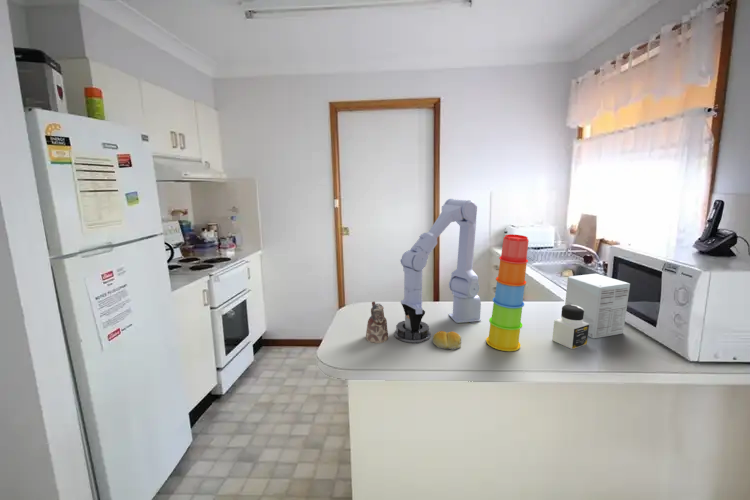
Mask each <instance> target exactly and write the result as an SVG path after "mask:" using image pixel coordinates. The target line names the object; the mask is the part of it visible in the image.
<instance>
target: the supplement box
mask: <svg viewBox="0 0 750 500" xmlns="http://www.w3.org/2000/svg"><path fill="white" fill-rule="evenodd" d="M630 288H631V283H629V282H626V281H623V280H619V279H616V278H611V277H610V276H606V275H602V274H599V273H589V274H582V275H581V274H580V275H572V276H570V275H569V276H568V277H567V281H566V293H565V301H564V302H565V303H564V305H576V306H579V307H581V308H583V310H584V316H583V321H584V322H586V323H589V330H588V337H590V338H592V339H599V338H600V339H601V338H604V337H609V336H616V335H621V334H622V335H623V334H624V330H625V323H626V315H627V314H626V313H627V308H628V302H629V301H628V300H629V297H630V296H629V295H630Z"/></svg>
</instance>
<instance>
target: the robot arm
mask: <svg viewBox="0 0 750 500" xmlns="http://www.w3.org/2000/svg"><path fill="white" fill-rule="evenodd" d="M477 212H478V206H477V204H476V203H475V202H474V201H473V200H472V199H467V200H466V199H456V198H455V199H454V198H449V199H447V200H446V201H445V202H444V204H443V205H442V206H441V213H440V214H439V215H438V217H437V218H436V220H435V221H434V223H433V224H432V226H431V228H430V229H429V230H428V231H426V232H423V233H422V234H420V236H419V238H418V239H417V241H416V242H415V243H414V244H413V245H412V247H411V248H410V249H409V250H406V251H405V252H404V253H403V254H402V256H401V258H400V259H399V261H400V264H401V266H402V267H403V273H404V274H403V275H404V279H403V280H404V282H403V286H404V287H403V288H404V289H403V290H404V291H403V293H404V294H403V295H404V297H403V299H401V300H400V304H401V307H402V308H403V311H404V315H405V316H406V315H409V318H410V324H411V329H412V331H413V330H418V329H419V326H420V322H421V321H422V319H423V318H424V316H425V313H426V310H424V309H423V270H424V269H425V268H426V266H427V262H428V259H429V256H430V254H431V253H432V252H433V250H434V249H435V247H436V246H437V245H438V238H439V236H441V234H442V233H443V232H444V231H445V230H446V228H448V226H450V224H451V223H454V222H456V223H457V225H458V226H459V236H458V249H457V251H458V252H457V262H456V263H457V265H456V269H455V270H454V271H452V272H451V275H450V276H451V277H450V279H449V282H448V288H449V290H450V291H451V294H452V295H453V296H452V297H453V298H452V312H451V313H449V314H448V316H449V317H450V318H451V319H452V320H453V321H454V322H455V323H456V324H460V323H473V322H475V323H476V322H481V320H482V319H481V309H482V307H481V306H482V304H481V298H480V296H479V295H478V294H479V292H480V284H479V276H478V275H477V274H476V272H475V271H474V270H473V268H474V267H473V265H474V254H475V253H474V252H475V243H476V242H475V241H476V231H477V230H476V229H477V214H478V213H477ZM405 316H404V317H405Z"/></svg>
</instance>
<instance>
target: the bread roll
mask: <svg viewBox="0 0 750 500" xmlns="http://www.w3.org/2000/svg"><path fill="white" fill-rule="evenodd" d="M432 343H433V344H434V345H435V346H436V347H437V348H440V349H445V350H447V349H449V350H457V349H459V348H461V346H462V336H461V335H460V334H459V333H458V332H455V331H449V332H448V331H447V332H446V331H444V330H439V331H437V332H436V333H434V335H433V336H432Z"/></svg>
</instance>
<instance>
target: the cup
mask: <svg viewBox="0 0 750 500" xmlns="http://www.w3.org/2000/svg"><path fill="white" fill-rule="evenodd" d="M404 321H405V329H407V330H412V329H411V324H410V318H409V315H406V316H404ZM419 329H420V326H419ZM419 329H418V330H419Z"/></svg>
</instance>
